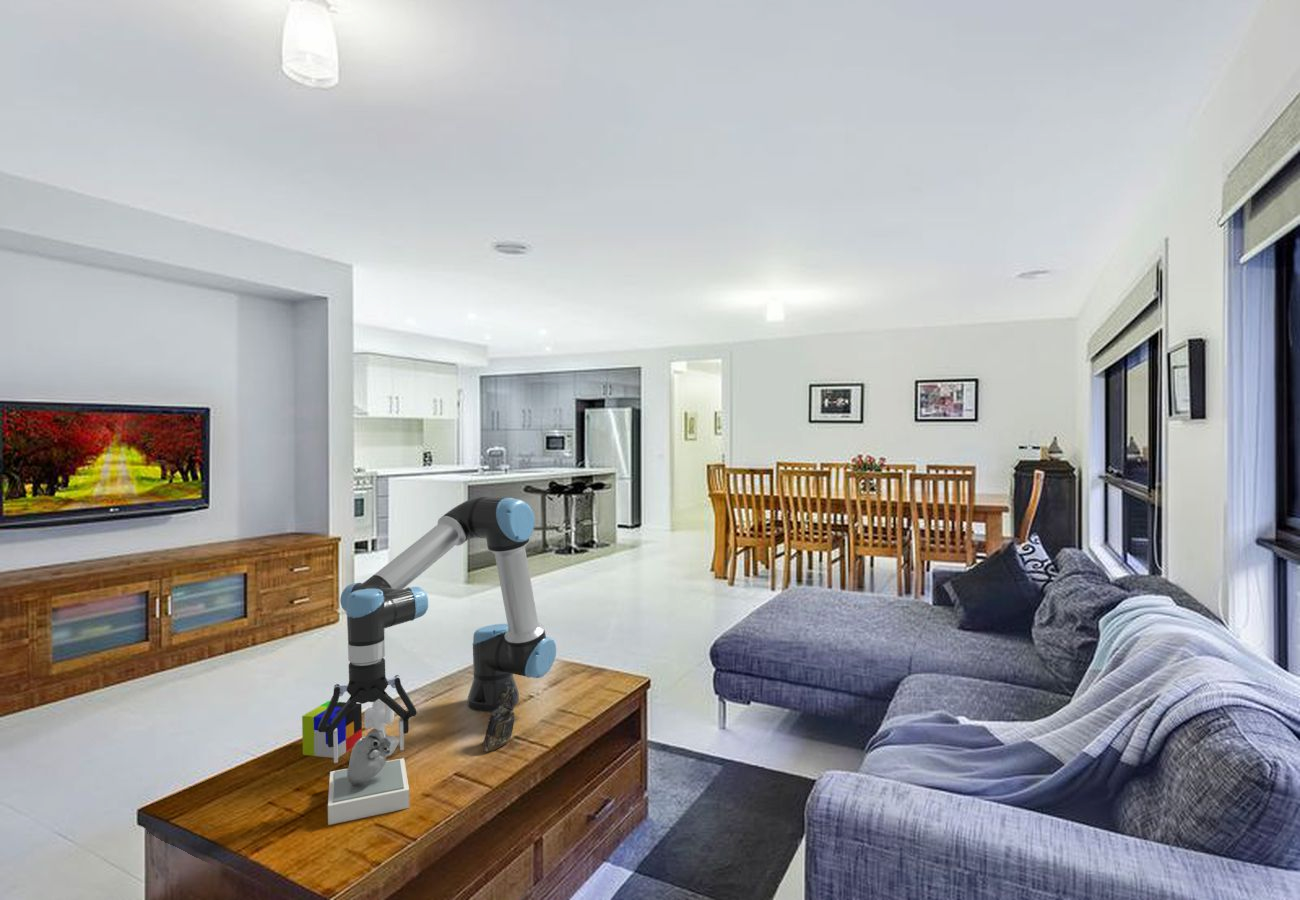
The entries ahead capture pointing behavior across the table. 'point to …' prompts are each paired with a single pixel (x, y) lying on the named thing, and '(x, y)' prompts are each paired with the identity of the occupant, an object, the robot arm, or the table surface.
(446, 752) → the table surface
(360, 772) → the heart
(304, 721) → the puzzle toy
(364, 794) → the plinth
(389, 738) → the figurine
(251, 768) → the table surface
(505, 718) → the statue
